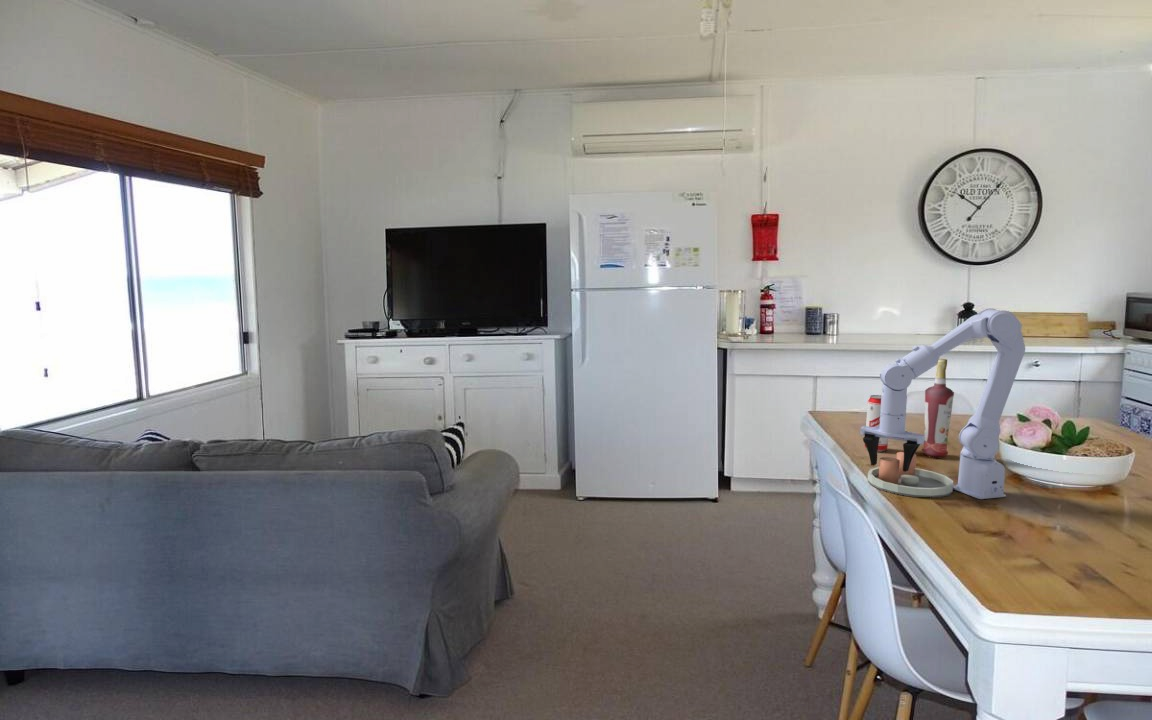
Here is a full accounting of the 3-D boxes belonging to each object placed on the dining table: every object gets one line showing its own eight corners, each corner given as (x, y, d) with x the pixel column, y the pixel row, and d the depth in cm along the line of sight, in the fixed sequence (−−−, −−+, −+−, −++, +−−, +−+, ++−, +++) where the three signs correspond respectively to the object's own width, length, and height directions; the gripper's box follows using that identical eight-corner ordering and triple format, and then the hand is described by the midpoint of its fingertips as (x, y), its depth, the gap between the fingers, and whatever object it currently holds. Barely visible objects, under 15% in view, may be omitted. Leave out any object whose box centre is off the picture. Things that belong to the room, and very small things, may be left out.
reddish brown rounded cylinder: (900, 483, 178) (902, 459, 177) (894, 487, 175) (896, 463, 174) (881, 479, 181) (883, 456, 180) (875, 483, 178) (877, 459, 177)
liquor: (941, 460, 202) (949, 361, 198) (915, 455, 207) (923, 359, 204) (953, 456, 206) (961, 359, 203) (927, 451, 212) (934, 357, 208)
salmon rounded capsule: (918, 479, 182) (920, 456, 181) (903, 480, 181) (905, 457, 180) (906, 474, 186) (907, 451, 185) (891, 475, 185) (893, 452, 184)
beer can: (889, 453, 209) (893, 399, 207) (866, 451, 211) (870, 398, 209) (884, 447, 215) (888, 395, 213) (862, 446, 217) (866, 394, 215)
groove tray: (970, 494, 172) (971, 485, 171) (905, 500, 166) (905, 491, 166) (912, 472, 190) (913, 464, 190) (851, 477, 184) (852, 469, 184)
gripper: (929, 415, 174) (925, 469, 175) (869, 407, 183) (865, 459, 185) (920, 419, 169) (916, 476, 170) (858, 411, 178) (855, 464, 180)
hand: (889, 467), depth 177 cm, fingers open, 7 cm apart
